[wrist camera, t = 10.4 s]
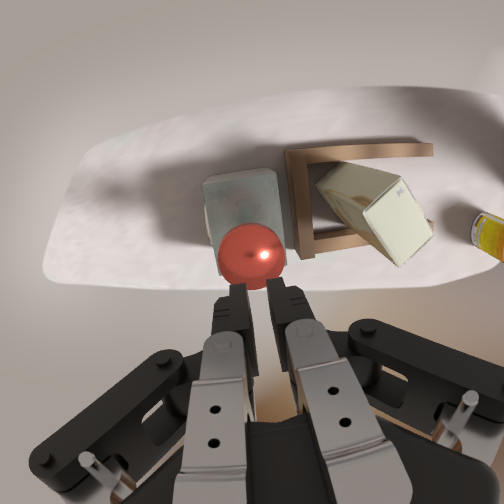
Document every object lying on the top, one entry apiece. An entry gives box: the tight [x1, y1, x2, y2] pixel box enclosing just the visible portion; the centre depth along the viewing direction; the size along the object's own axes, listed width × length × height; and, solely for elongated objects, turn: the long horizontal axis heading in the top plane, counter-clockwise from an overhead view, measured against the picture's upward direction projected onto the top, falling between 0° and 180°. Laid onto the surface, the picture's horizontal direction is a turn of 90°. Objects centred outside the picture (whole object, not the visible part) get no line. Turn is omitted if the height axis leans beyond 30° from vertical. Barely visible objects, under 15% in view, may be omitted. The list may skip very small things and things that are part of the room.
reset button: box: [218, 223, 285, 290], centre depth 19 cm, size 4×4×4 cm
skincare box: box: [315, 161, 434, 268], centre depth 25 cm, size 6×4×12 cm
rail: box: [284, 143, 434, 260], centre depth 29 cm, size 18×11×3 cm, turn 98°
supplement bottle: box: [471, 212, 504, 263], centre depth 29 cm, size 6×6×10 cm
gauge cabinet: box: [202, 167, 287, 276], centre depth 27 cm, size 6×8×7 cm
